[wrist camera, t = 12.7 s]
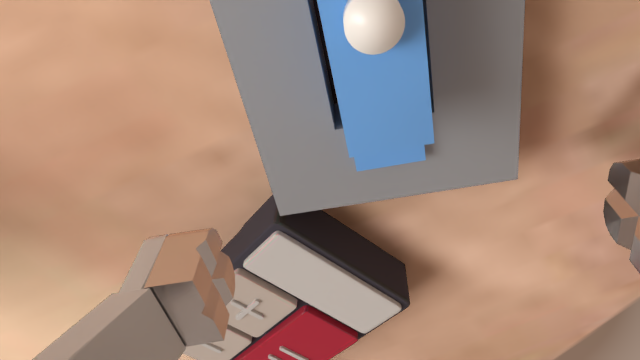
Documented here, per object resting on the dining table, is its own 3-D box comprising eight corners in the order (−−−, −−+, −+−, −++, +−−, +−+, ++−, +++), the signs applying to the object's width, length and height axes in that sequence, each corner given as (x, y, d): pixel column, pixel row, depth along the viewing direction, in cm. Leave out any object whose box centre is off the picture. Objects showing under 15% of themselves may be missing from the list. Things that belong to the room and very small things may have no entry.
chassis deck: (500, 149, 27) (517, 179, 25) (284, 185, 29) (280, 216, 26) (506, -262, 17) (536, -283, 15) (174, -173, 19) (151, -177, 16)
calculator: (150, 346, 33) (273, 229, 25) (168, 297, 36) (282, 182, 29) (276, 402, 37) (415, 314, 29) (282, 353, 40) (407, 264, 33)
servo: (414, 126, 26) (444, 215, 20) (353, 137, 27) (362, 227, 20) (384, -150, 19) (415, -155, 13) (301, -129, 20) (289, -123, 13)
